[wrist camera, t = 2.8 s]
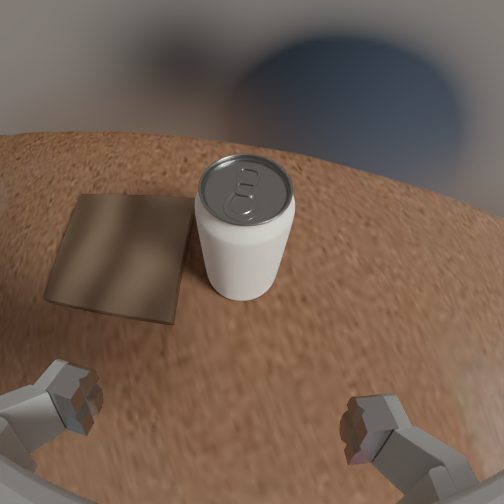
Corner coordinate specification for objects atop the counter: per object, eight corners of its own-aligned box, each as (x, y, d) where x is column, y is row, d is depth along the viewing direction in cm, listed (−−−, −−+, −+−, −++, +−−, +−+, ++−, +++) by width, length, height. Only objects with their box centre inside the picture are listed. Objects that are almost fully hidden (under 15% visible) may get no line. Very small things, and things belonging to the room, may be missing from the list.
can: (199, 295, 26) (176, 221, 16) (215, 234, 29) (206, 143, 19) (270, 308, 26) (295, 241, 15) (279, 245, 29) (303, 157, 18)
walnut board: (49, 302, 25) (44, 298, 23) (85, 199, 31) (81, 193, 30) (173, 325, 25) (170, 321, 24) (195, 204, 31) (194, 198, 30)
